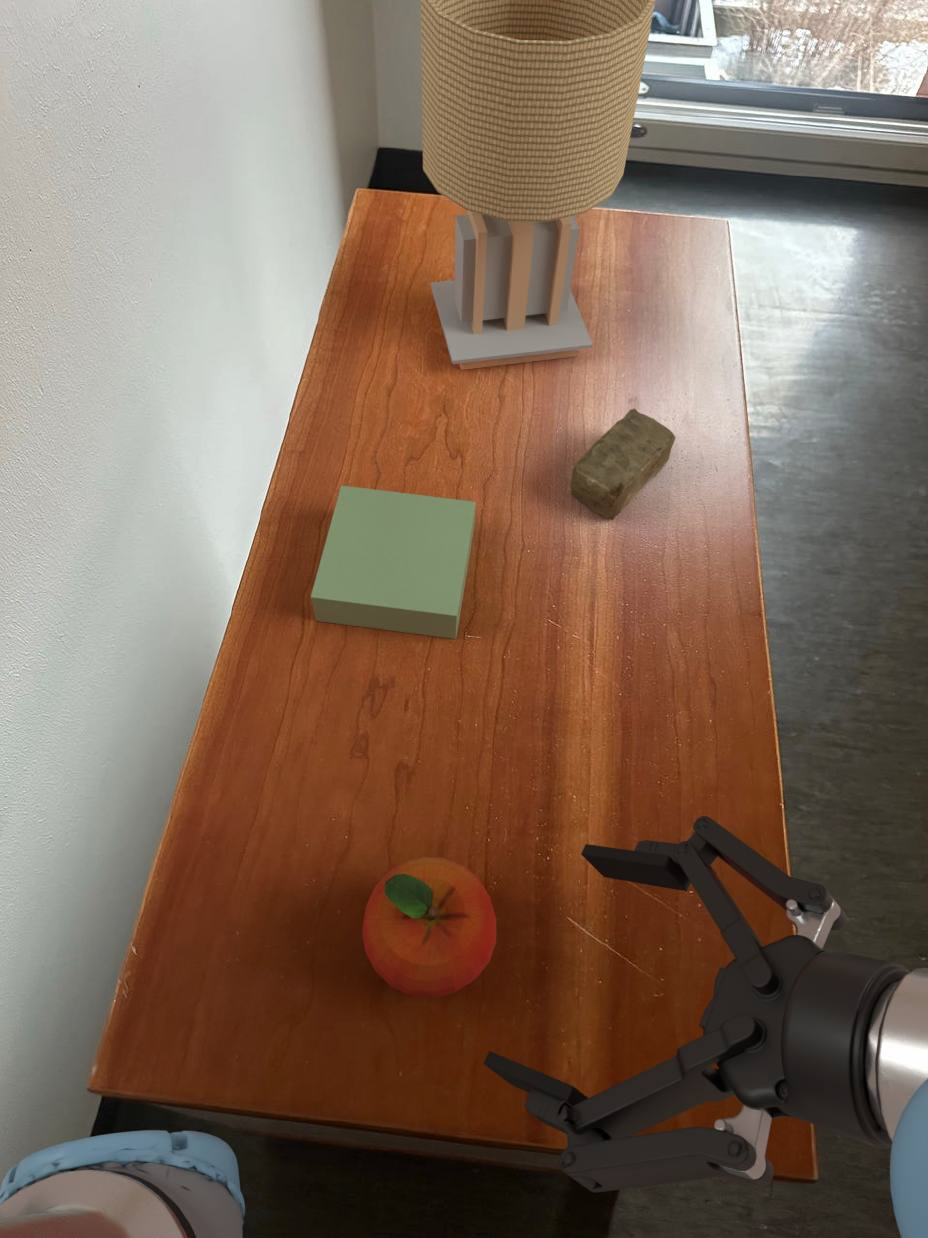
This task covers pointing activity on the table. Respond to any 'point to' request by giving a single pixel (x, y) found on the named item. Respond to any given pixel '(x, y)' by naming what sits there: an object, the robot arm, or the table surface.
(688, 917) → the table surface
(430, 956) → the fruit
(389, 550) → the green block
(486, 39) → the desk lamp
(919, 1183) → the robot arm
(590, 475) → the stone block
